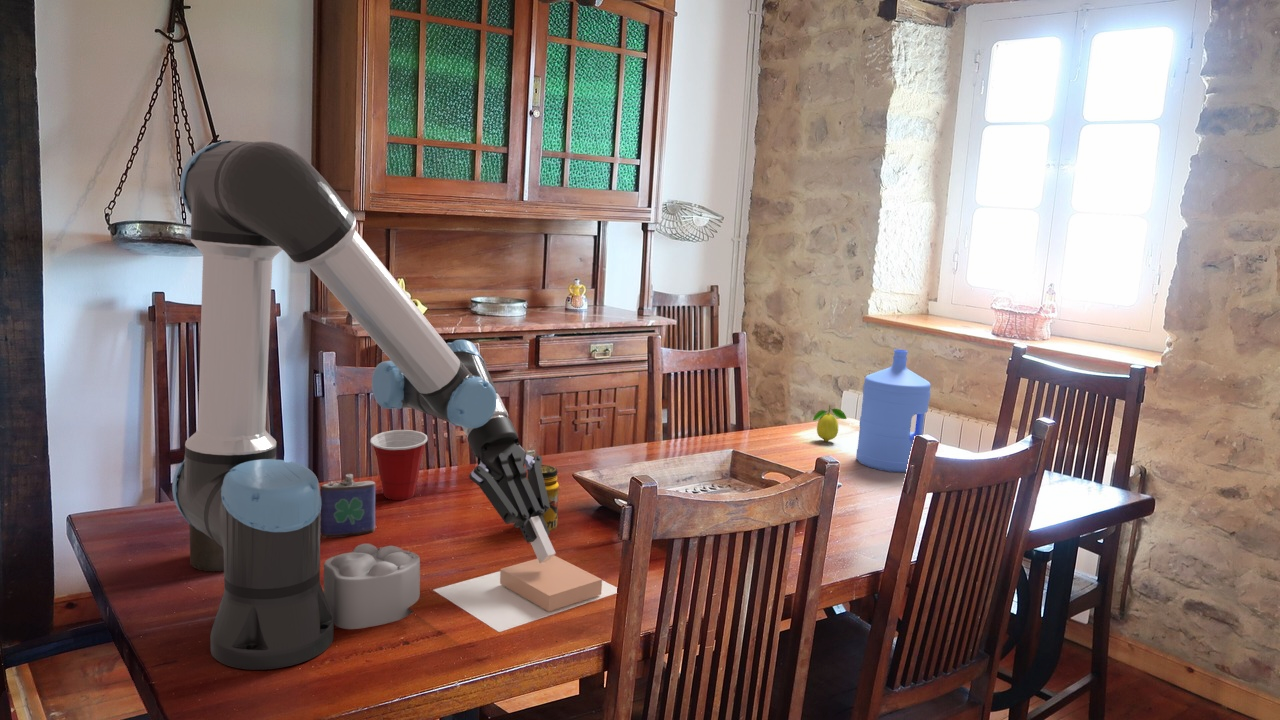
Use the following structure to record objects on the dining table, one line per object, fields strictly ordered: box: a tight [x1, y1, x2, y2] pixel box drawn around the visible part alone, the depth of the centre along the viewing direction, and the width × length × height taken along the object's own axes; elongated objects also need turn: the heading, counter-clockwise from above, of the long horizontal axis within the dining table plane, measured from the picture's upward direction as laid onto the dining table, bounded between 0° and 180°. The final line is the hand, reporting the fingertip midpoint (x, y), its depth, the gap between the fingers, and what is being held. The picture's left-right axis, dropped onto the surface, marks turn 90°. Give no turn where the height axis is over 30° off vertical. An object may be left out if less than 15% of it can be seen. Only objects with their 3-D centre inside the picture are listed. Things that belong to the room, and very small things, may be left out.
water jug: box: [855, 348, 932, 473], centre depth 228 cm, size 16×16×28 cm
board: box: [432, 570, 618, 633], centre depth 143 cm, size 23×17×1 cm
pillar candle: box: [188, 523, 224, 573], centre depth 149 cm, size 10×10×15 cm
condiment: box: [527, 464, 560, 532], centre depth 169 cm, size 7×8×12 cm
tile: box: [499, 554, 603, 612], centre depth 143 cm, size 10×3×12 cm
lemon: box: [812, 404, 848, 443], centre depth 247 cm, size 7×6×10 cm
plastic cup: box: [370, 429, 428, 501], centre depth 184 cm, size 11×11×12 cm
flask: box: [319, 473, 376, 538], centre depth 164 cm, size 9×3×11 cm, turn 116°
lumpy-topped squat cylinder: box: [323, 543, 421, 630], centre depth 136 cm, size 10×13×9 cm
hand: (547, 558), depth 143 cm, fingers closed
